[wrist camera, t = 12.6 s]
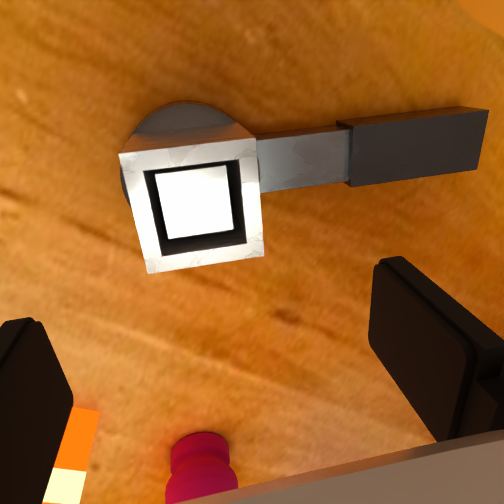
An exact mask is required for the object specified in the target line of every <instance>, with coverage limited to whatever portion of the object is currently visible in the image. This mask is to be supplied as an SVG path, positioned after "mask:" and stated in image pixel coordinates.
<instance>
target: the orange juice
mask: <svg viewBox="0 0 504 504" xmlns="http://www.w3.org/2000/svg"><path fill="white" fill-rule="evenodd" d="M98 417H99V411H94V410H88V409H83V408H77V407H73V408H72V411H71V414H70V417H69V420H68V423H67V426H66V430H65V433H64V436H63V439H62V442H61V445H60V449H59V452H58V455H57V458H56V461H55V464H54V467H53V471H52V474H51V477H50V480H49V483H48V486H47V489H46V493H45V496H44V499H43V502H42V504H79V502H80V498H81V494H82V489H83V485H84V480H85V476H86V469H87V465H88V460H89V456H90V452H91V447H92V443H93V438H94V434H95V430H96V425H97V421H98Z"/></svg>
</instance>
